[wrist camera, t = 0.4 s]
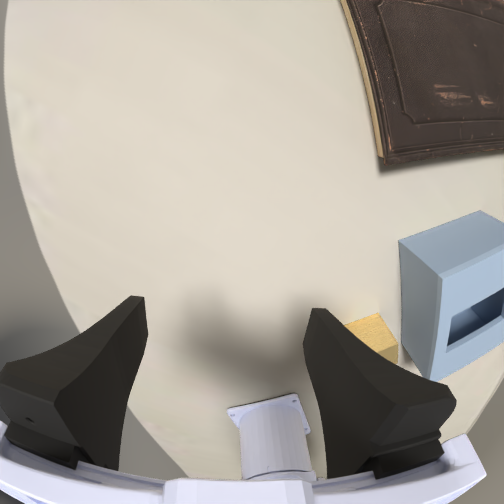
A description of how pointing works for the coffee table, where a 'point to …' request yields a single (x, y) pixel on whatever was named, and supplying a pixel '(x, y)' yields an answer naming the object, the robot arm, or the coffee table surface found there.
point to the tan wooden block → (376, 336)
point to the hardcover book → (431, 74)
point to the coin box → (452, 293)
